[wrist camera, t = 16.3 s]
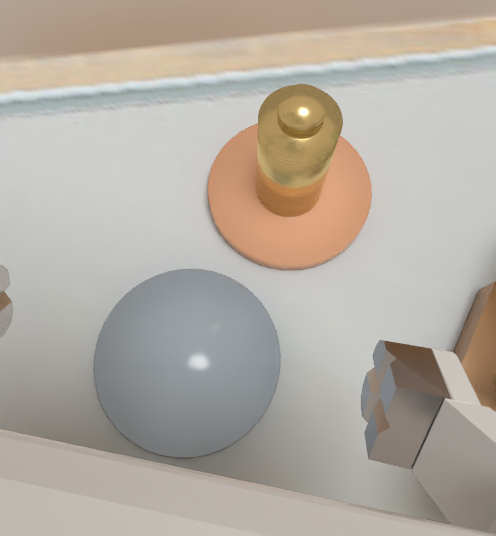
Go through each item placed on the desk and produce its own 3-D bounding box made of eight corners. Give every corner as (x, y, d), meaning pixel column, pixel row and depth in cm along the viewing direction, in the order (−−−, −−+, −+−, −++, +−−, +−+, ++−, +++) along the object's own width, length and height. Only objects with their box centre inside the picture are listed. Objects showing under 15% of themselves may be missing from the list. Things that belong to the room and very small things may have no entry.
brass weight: (243, 198, 30) (242, 117, 22) (274, 149, 31) (284, 56, 23) (302, 228, 29) (323, 156, 21) (331, 176, 31) (361, 90, 23)
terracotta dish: (179, 222, 31) (176, 215, 30) (257, 106, 34) (257, 95, 33) (323, 299, 29) (326, 294, 28) (392, 169, 32) (397, 160, 31)
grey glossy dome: (63, 394, 27) (55, 393, 26) (163, 246, 30) (160, 239, 29) (221, 494, 25) (220, 497, 24) (309, 326, 28) (312, 322, 27)
